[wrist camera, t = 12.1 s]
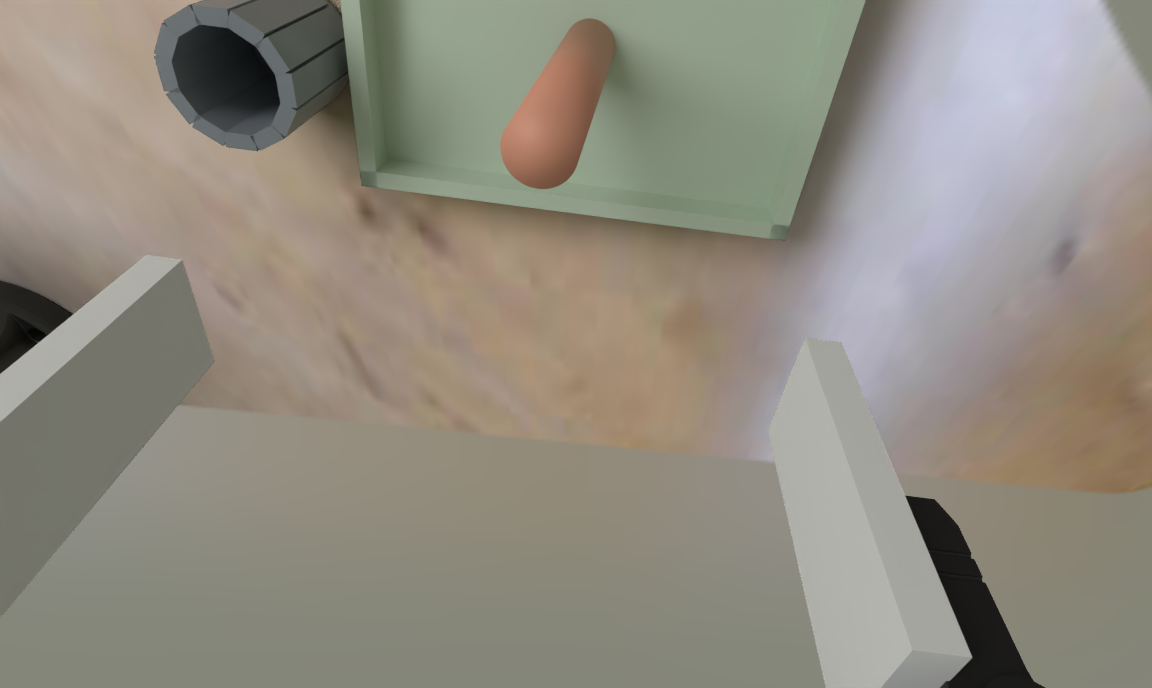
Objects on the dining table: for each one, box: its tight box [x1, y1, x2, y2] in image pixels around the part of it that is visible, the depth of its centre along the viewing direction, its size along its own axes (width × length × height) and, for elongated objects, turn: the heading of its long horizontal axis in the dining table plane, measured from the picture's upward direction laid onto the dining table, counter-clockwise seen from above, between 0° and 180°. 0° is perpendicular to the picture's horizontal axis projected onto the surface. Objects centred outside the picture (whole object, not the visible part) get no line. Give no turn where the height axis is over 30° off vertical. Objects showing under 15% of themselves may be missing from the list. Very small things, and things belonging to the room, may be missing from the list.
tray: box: [340, 0, 866, 241], centre depth 35 cm, size 26×18×3 cm
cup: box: [154, 0, 349, 151], centre depth 34 cm, size 7×7×8 cm
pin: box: [500, 18, 615, 189], centre depth 29 cm, size 6×3×16 cm, turn 85°
